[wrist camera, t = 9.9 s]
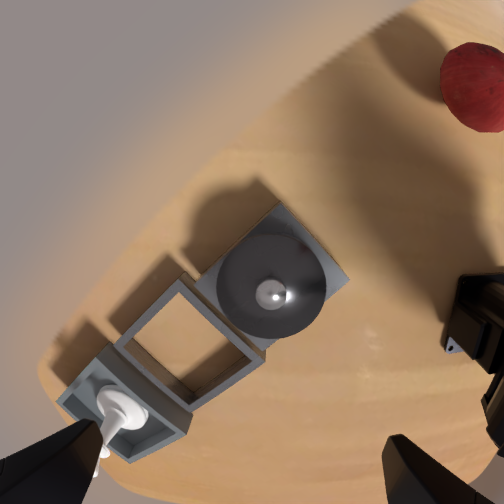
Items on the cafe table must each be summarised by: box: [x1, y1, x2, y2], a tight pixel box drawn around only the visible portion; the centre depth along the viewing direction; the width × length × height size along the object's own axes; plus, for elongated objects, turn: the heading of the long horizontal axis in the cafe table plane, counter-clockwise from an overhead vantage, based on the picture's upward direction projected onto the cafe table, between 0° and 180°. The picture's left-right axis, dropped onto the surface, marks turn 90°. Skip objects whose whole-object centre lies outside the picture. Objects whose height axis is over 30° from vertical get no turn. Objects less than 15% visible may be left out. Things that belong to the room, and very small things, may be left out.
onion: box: [440, 42, 504, 132], centre depth 12 cm, size 6×6×8 cm
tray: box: [56, 342, 193, 464], centre depth 22 cm, size 9×9×2 cm
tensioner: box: [113, 201, 350, 413], centre depth 19 cm, size 15×8×4 cm, turn 134°
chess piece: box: [93, 385, 149, 477], centre depth 18 cm, size 5×5×10 cm
